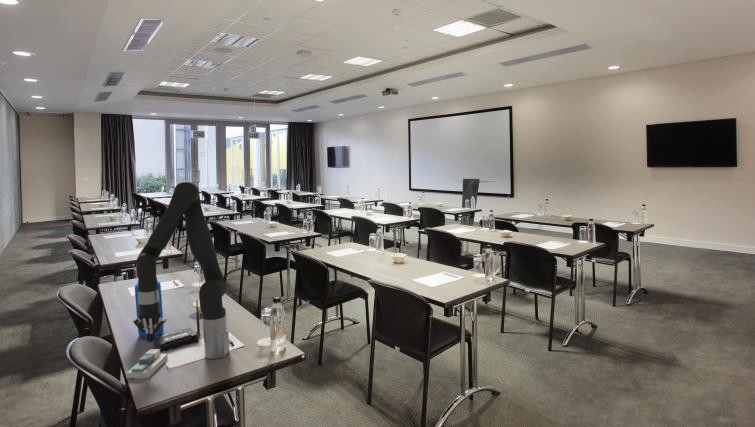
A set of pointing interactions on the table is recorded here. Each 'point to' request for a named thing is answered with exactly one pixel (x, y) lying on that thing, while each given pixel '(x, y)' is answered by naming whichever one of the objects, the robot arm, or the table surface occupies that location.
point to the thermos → (141, 334)
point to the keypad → (148, 368)
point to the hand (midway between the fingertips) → (151, 341)
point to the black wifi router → (177, 337)
